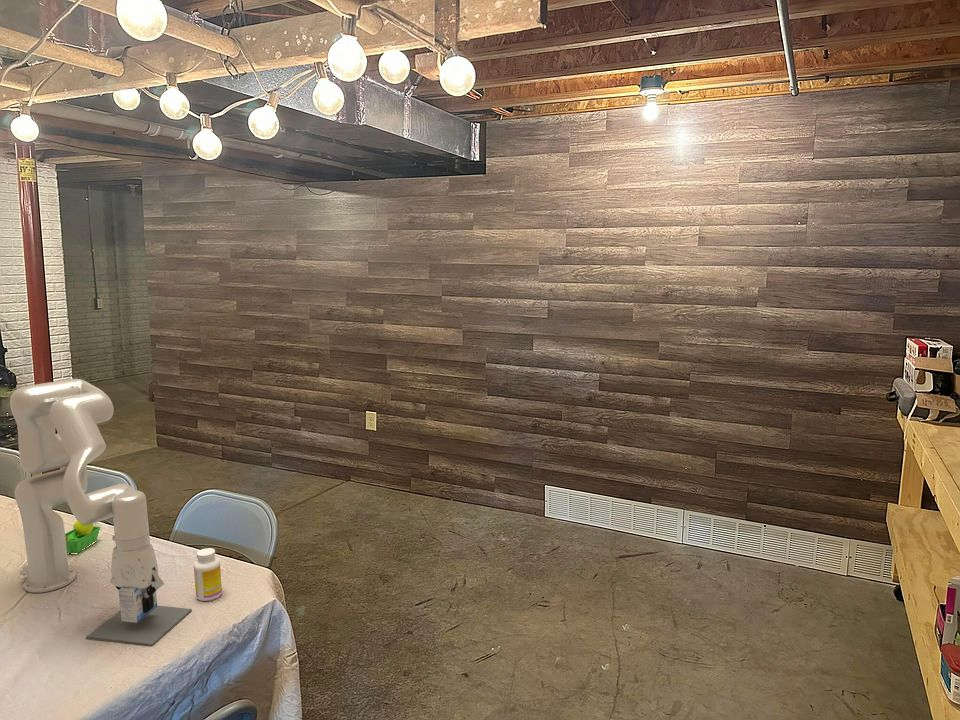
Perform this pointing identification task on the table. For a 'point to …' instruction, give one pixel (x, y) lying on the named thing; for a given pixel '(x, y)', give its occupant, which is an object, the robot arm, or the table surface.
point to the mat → (140, 627)
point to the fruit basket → (81, 537)
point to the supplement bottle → (207, 575)
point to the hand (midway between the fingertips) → (139, 608)
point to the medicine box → (133, 604)
